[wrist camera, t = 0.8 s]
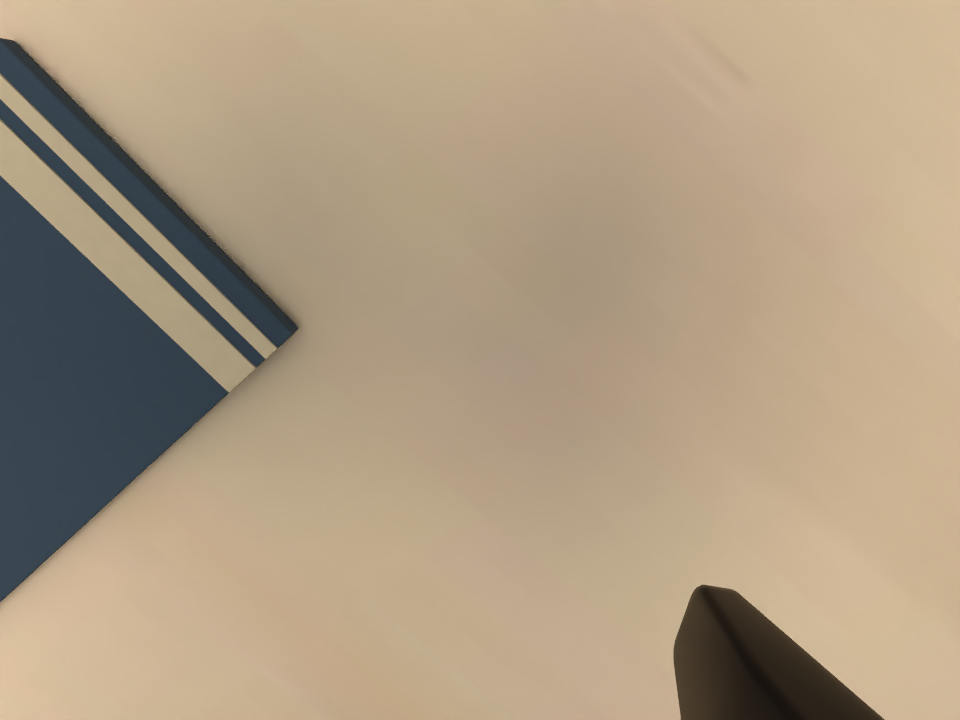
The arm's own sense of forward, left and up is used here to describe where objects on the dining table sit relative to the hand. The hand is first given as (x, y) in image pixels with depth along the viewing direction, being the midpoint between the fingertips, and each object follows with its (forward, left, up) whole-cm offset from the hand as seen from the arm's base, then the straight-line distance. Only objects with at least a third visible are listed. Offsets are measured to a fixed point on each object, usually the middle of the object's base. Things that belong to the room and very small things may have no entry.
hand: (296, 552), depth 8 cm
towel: (-8, +13, -15) cm, 21 cm away
